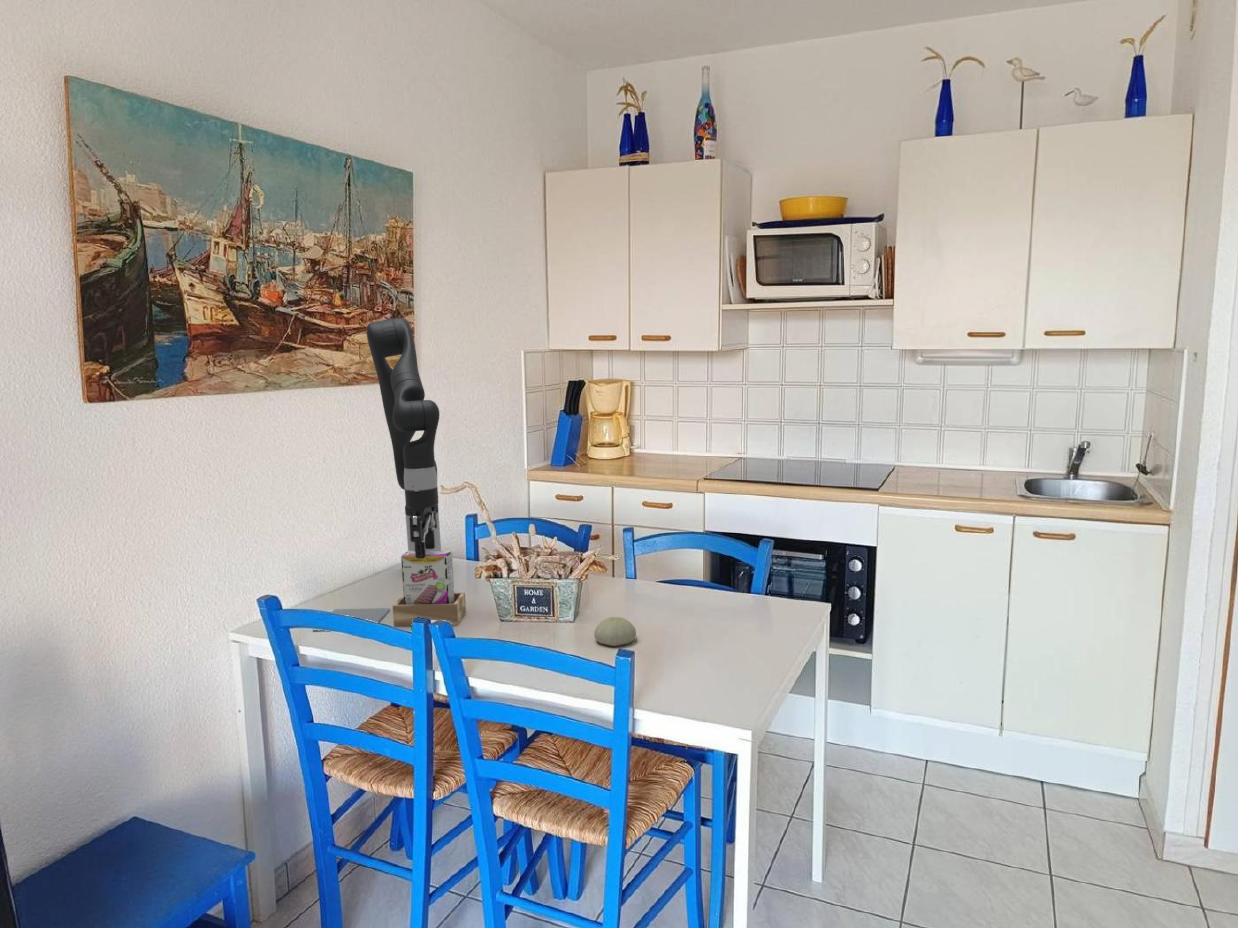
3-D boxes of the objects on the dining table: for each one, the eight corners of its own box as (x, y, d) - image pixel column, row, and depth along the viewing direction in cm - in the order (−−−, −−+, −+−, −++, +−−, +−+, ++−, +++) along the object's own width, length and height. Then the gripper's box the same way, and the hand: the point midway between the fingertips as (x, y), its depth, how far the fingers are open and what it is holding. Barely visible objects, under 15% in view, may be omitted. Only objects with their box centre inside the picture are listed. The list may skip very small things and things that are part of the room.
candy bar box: (404, 622, 204) (399, 555, 201) (411, 615, 208) (406, 550, 206) (450, 622, 202) (446, 555, 200) (456, 615, 207) (452, 550, 205)
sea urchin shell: (636, 622, 193) (635, 607, 186) (636, 655, 188) (636, 640, 182) (595, 623, 193) (593, 608, 186) (595, 656, 188) (593, 641, 182)
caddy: (405, 613, 210) (403, 593, 209) (466, 612, 210) (464, 592, 209) (394, 626, 201) (392, 605, 200) (457, 625, 201) (456, 604, 200)
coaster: (334, 611, 213) (334, 609, 213) (390, 610, 213) (390, 608, 213) (312, 631, 200) (312, 628, 200) (372, 630, 199) (371, 627, 199)
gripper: (413, 481, 207) (418, 546, 210) (396, 492, 193) (401, 561, 196) (444, 480, 207) (448, 545, 210) (428, 491, 193) (433, 561, 196)
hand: (425, 553), depth 203 cm, fingers open, 8 cm apart
